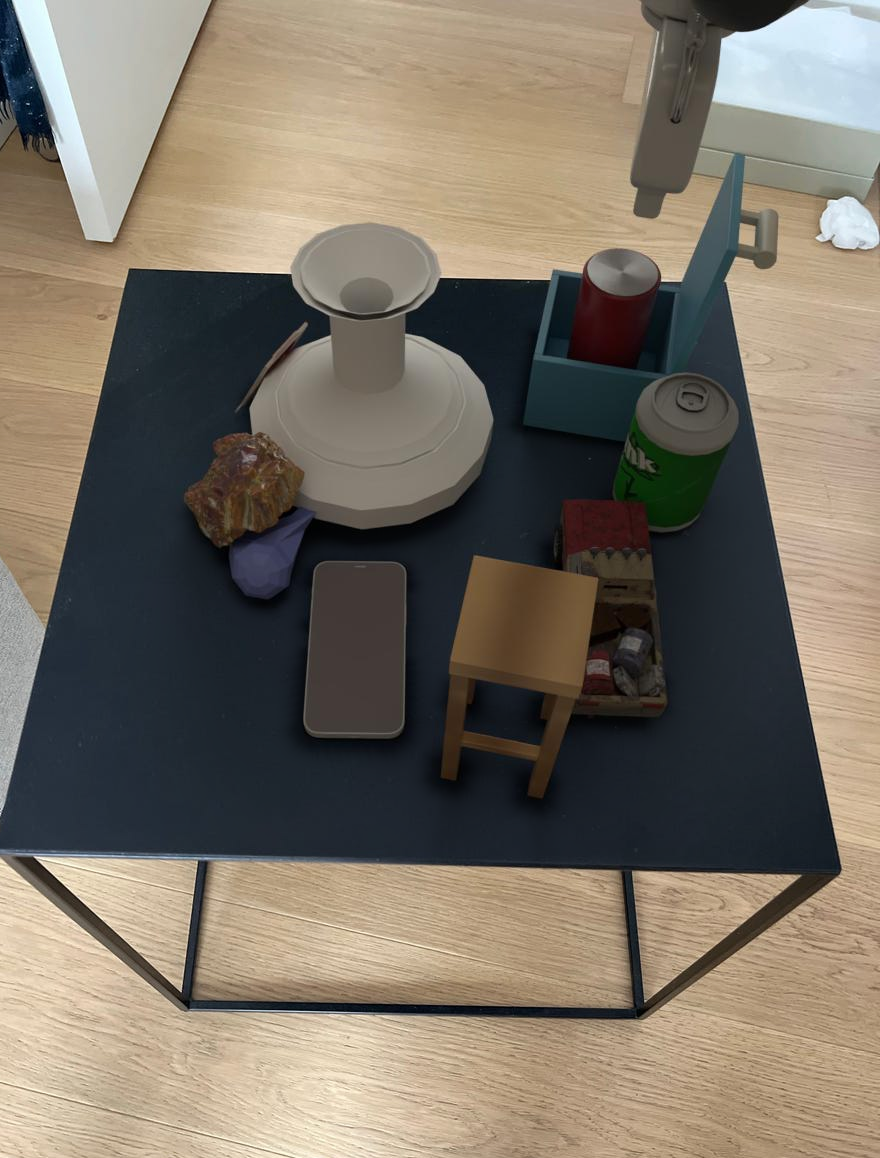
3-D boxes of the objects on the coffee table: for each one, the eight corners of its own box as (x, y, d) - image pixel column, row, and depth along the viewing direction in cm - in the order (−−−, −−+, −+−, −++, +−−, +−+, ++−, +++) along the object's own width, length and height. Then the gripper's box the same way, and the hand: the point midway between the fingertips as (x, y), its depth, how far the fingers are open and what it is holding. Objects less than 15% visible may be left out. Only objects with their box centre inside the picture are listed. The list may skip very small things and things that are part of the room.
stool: (558, 707, 73) (598, 577, 58) (543, 800, 69) (582, 686, 55) (458, 687, 74) (473, 554, 59) (438, 778, 70) (449, 660, 55)
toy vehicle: (636, 534, 81) (657, 472, 75) (657, 732, 72) (683, 683, 65) (551, 531, 81) (565, 469, 75) (561, 729, 72) (578, 679, 65)
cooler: (522, 425, 87) (533, 359, 81) (541, 336, 93) (552, 268, 86) (652, 446, 86) (673, 381, 79) (663, 355, 92) (684, 288, 85)
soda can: (707, 482, 84) (751, 378, 74) (691, 550, 80) (734, 450, 70) (620, 460, 85) (651, 354, 75) (600, 526, 82) (630, 424, 71)
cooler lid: (726, 249, 68) (789, 263, 68) (735, 152, 74) (792, 164, 74) (670, 376, 79) (723, 388, 79) (681, 282, 85) (731, 294, 85)
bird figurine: (201, 578, 74) (219, 557, 80) (268, 619, 75) (281, 595, 81) (254, 489, 72) (268, 475, 78) (322, 532, 73) (331, 515, 79)
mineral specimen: (228, 411, 81) (262, 481, 85) (149, 459, 79) (187, 529, 82) (297, 439, 72) (331, 516, 76) (210, 494, 69) (250, 570, 73)
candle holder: (486, 556, 80) (509, 381, 63) (240, 544, 80) (199, 366, 64) (490, 378, 90) (511, 186, 73) (272, 368, 91) (243, 175, 74)
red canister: (634, 365, 90) (665, 252, 80) (627, 414, 87) (658, 303, 77) (566, 354, 91) (588, 241, 80) (557, 403, 88) (578, 291, 77)
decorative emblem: (314, 325, 89) (247, 410, 92) (311, 322, 89) (243, 407, 92) (302, 324, 79) (227, 420, 82) (299, 321, 79) (223, 417, 82)
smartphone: (301, 733, 71) (313, 560, 78) (302, 738, 72) (314, 567, 79) (404, 734, 71) (406, 561, 78) (404, 739, 72) (406, 568, 79)
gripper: (754, 58, 53) (686, 272, 65) (766, -118, 63) (705, 95, 75) (636, 42, 53) (590, 257, 65) (666, -130, 63) (622, 84, 75)
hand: (651, 169), depth 70 cm, fingers open, 8 cm apart
